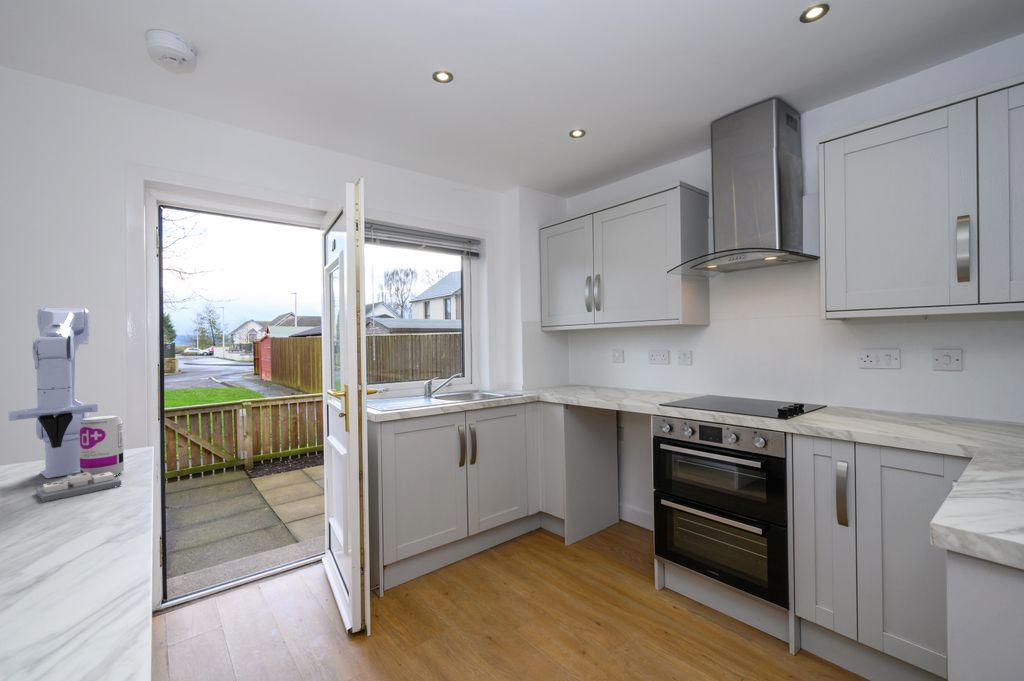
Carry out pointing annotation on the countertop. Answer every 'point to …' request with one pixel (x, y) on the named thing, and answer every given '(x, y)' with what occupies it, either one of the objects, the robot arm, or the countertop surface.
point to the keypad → (77, 489)
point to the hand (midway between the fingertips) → (56, 447)
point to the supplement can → (101, 444)
